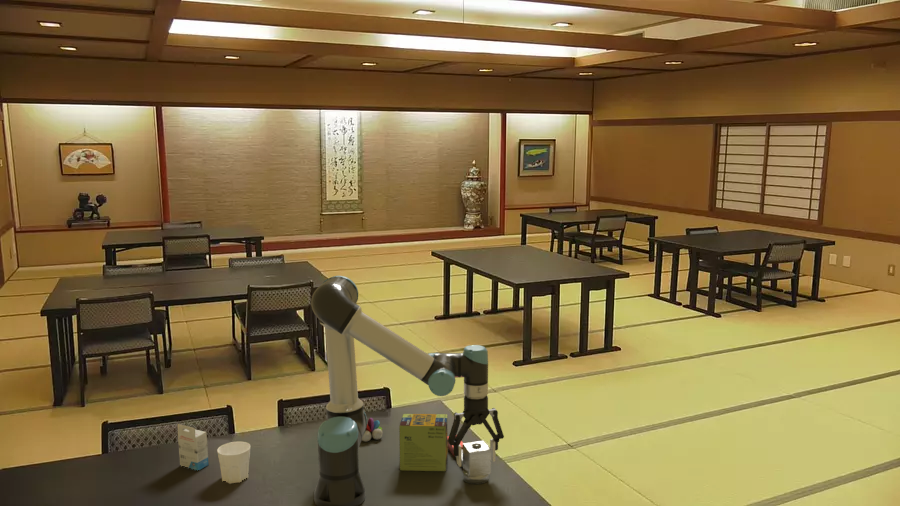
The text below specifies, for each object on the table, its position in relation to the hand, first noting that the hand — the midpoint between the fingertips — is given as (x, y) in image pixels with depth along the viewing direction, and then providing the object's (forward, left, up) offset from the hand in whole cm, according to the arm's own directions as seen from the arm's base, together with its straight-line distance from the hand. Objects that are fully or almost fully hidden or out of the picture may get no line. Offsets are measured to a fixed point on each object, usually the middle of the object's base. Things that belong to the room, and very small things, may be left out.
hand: (475, 462), depth 217 cm
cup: (-73, +24, -6) cm, 77 cm away
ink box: (-86, +36, -6) cm, 94 cm away
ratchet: (0, +12, -5) cm, 13 cm away
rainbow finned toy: (-27, +41, -6) cm, 50 cm away
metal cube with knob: (0, 0, -3) cm, 3 cm away
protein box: (-13, +15, -6) cm, 21 cm away
